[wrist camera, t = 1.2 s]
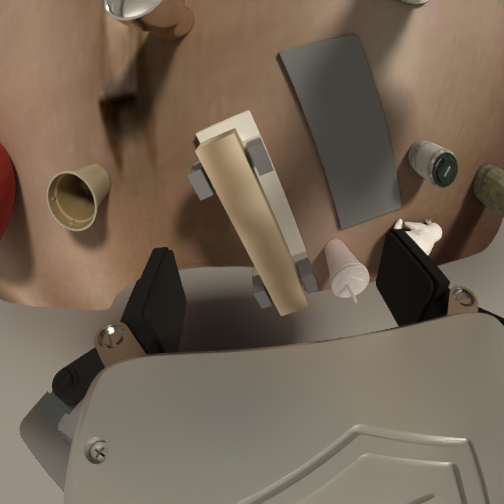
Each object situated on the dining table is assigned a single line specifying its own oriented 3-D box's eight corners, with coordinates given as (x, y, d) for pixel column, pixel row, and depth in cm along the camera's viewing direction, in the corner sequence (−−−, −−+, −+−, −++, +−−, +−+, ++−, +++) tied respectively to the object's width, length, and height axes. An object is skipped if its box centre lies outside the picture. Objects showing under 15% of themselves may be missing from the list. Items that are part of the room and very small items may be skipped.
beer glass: (199, 0, 24) (176, -41, 11) (196, 41, 28) (168, 15, 15) (151, 6, 23) (107, -26, 11) (148, 45, 27) (98, 29, 15)
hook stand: (249, 109, 34) (252, 119, 23) (305, 247, 47) (322, 302, 36) (197, 132, 36) (175, 154, 24) (262, 263, 49) (268, 319, 38)
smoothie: (317, 234, 46) (340, 289, 34) (352, 230, 45) (383, 282, 34) (317, 264, 49) (336, 321, 38) (349, 260, 49) (375, 314, 37)
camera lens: (400, 163, 38) (426, 179, 32) (415, 131, 35) (443, 143, 29) (424, 178, 40) (449, 196, 33) (438, 149, 36) (466, 163, 30)
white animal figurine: (410, 245, 37) (459, 230, 37) (384, 220, 44) (431, 208, 44) (405, 276, 40) (452, 258, 40) (382, 249, 48) (428, 235, 47)
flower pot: (122, 158, 37) (97, 176, 30) (118, 211, 42) (96, 237, 35) (75, 150, 35) (45, 167, 28) (74, 201, 40) (48, 224, 33)
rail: (235, 127, 26) (234, 133, 23) (303, 287, 39) (308, 307, 36) (201, 142, 27) (194, 150, 24) (278, 296, 40) (280, 316, 36)
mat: (354, 35, 27) (356, 34, 26) (399, 205, 43) (401, 207, 42) (278, 52, 29) (279, 52, 29) (340, 227, 45) (341, 229, 44)
